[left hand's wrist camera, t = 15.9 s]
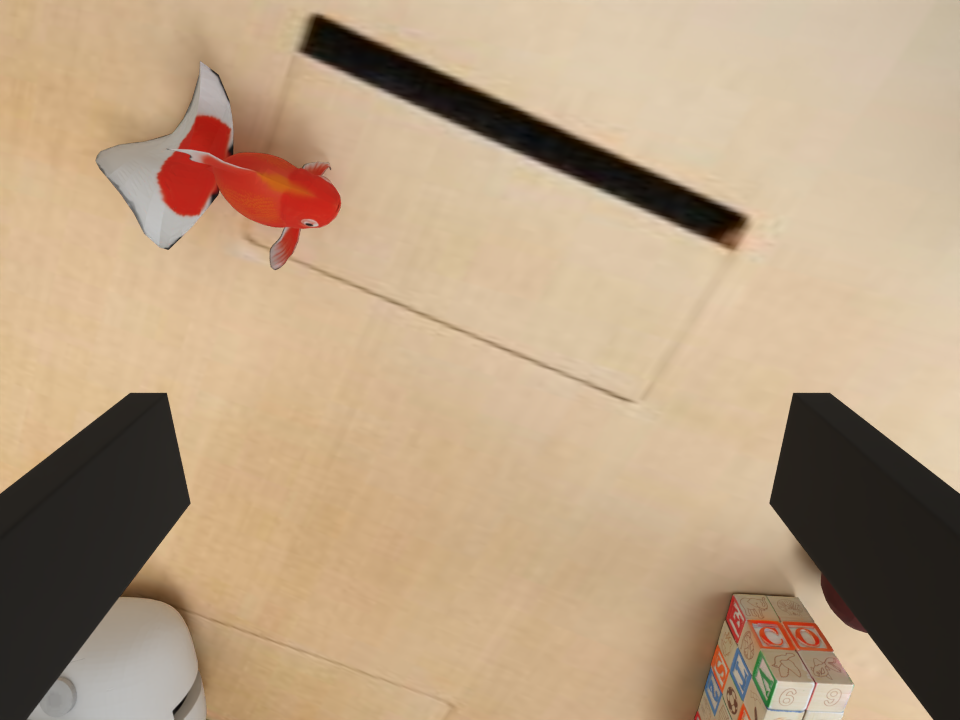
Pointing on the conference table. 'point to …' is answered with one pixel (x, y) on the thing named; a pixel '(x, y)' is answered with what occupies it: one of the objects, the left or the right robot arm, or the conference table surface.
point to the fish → (216, 177)
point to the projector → (130, 669)
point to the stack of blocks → (773, 665)
